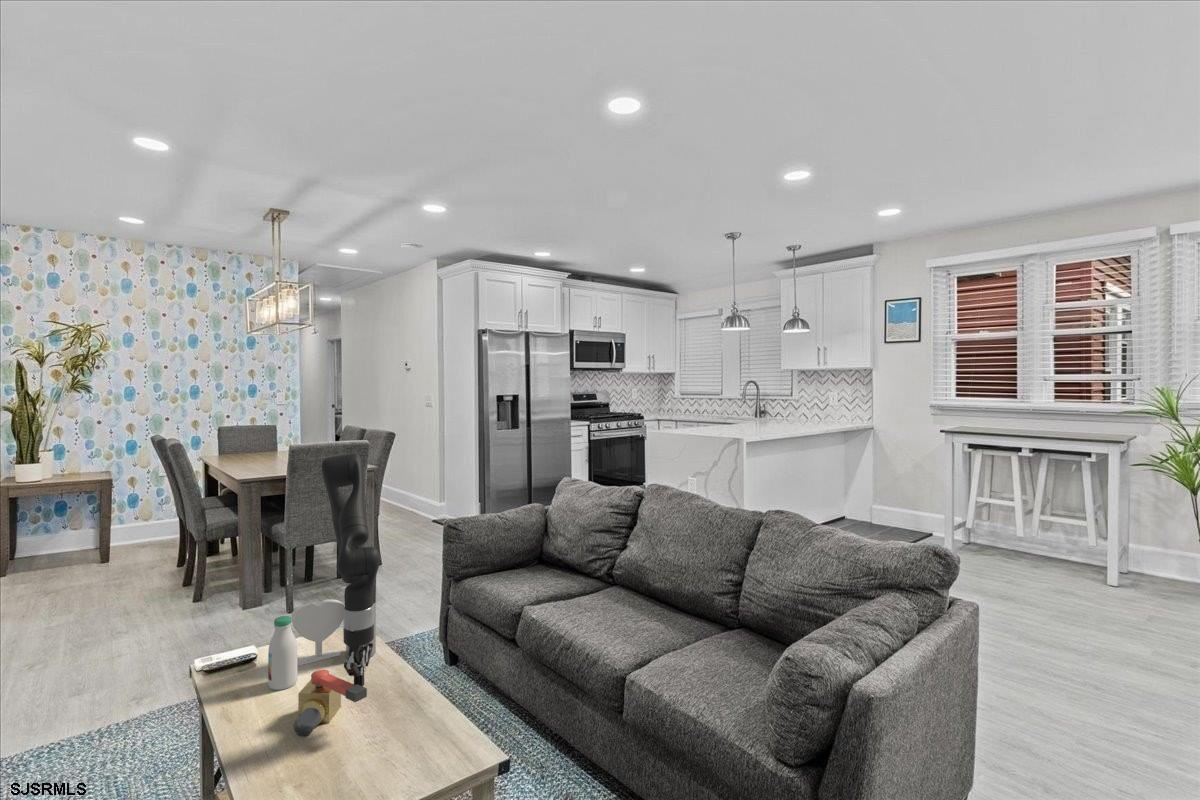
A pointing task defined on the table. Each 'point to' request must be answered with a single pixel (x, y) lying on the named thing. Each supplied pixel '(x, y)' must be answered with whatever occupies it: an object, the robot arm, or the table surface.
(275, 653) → the milk bottle
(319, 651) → the heart sculpture
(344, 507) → the robot arm
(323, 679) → the lever
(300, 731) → the valve body
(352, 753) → the table surface
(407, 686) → the table surface
